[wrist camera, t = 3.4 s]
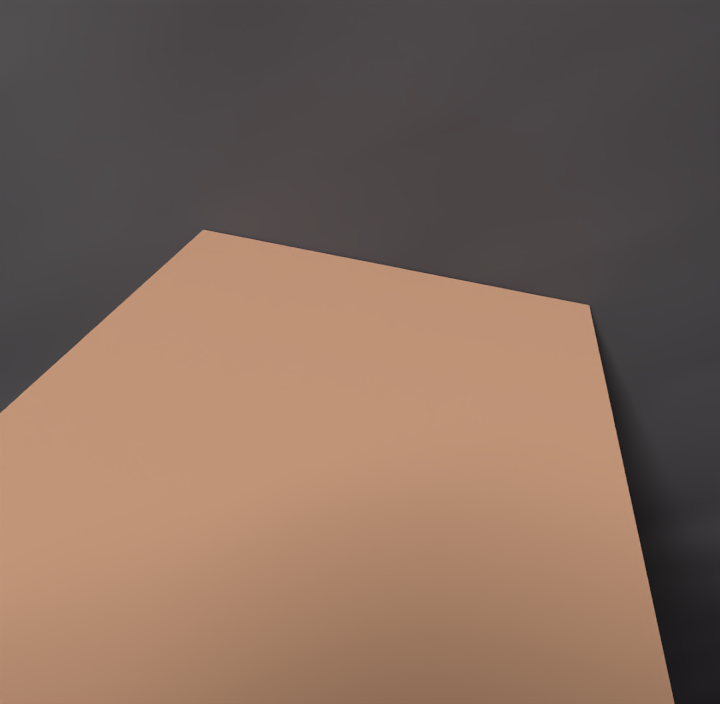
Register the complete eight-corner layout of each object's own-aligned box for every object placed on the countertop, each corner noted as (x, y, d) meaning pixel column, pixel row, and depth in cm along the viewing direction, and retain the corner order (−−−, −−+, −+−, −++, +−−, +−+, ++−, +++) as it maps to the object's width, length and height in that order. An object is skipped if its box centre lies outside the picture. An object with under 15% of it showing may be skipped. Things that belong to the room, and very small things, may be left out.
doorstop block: (481, 602, 11) (455, 1130, 6) (209, 535, 12) (-16, 971, 7) (588, 304, 8) (724, 931, 3) (203, 229, 8) (-257, 646, 3)
